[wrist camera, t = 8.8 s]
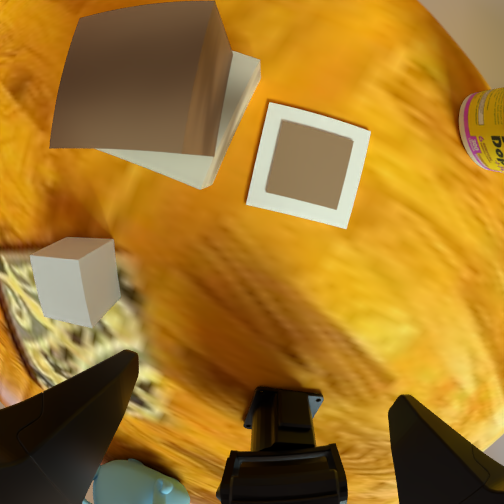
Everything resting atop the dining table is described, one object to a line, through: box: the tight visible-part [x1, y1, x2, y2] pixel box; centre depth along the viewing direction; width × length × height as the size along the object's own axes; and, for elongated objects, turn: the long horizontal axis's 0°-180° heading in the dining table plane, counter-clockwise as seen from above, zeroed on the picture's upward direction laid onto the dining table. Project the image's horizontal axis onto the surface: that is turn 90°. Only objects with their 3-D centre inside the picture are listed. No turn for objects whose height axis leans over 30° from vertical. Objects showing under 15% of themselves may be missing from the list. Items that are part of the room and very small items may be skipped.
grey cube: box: [30, 237, 121, 328], centre depth 18 cm, size 5×5×5 cm
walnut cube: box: [49, 1, 233, 157], centre depth 11 cm, size 6×6×6 cm
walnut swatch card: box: [246, 102, 371, 229], centre depth 17 cm, size 7×7×1 cm
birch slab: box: [94, 51, 261, 190], centre depth 15 cm, size 8×8×4 cm
